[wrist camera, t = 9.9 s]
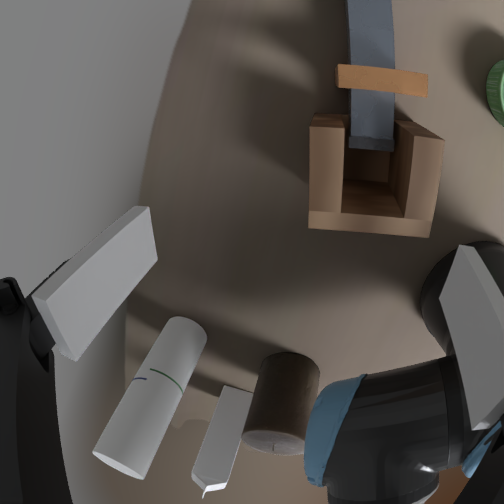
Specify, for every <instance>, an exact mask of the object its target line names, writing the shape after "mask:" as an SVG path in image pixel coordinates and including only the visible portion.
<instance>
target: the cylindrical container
mask: <svg viewBox="0 0 504 504" xmlns="http://www.w3.org/2000/svg"><path fill="white" fill-rule="evenodd" d="M206 342H207V335H206V332H205V331H204V329H203V328H202V327H201V326H200V325H199V324H197V323H196V322H194V321H193V320H191V319H188V318H185V317H179V316H177V317H172V318H170V319H169V320H168V322H167V323H166V325H165V327H164V328H163V330H162V332H161V333H160V335H159V336H158V338H157V340H156V341H155V343H154V345H153V346H152V348H151V350H150V351H149V353H148V355H147V357H146V358H145V360H144V362H143V363H142V365H141V367H140V368H139V370H138V372H137V374H136V375H135V377H134V379H133V380H132V382H131V384H130V386H129V387H128V389H127V391H126V392H125V394H124V396H123V398H122V400H121V401H120V403H119V405H118V406H117V408H116V410H115V412H114V413H113V415H112V417H111V419H110V421H109V422H108V424H107V426H106V428H105V430H104V431H103V433H102V435H101V437H100V439H99V441H98V442H97V444H96V446H95V448H94V450H93V454H94V455H95V456H97V457H98V458H99V459H100V460H102V461H103V462H105V463H106V464H108V465H110V466H111V467H113V468H115V469H117V470H119V471H121V472H123V473H125V474H127V475H130V476H132V477H135V478H138V479H144V478H145V476H146V473H147V471H148V469H149V467H150V464H151V462H152V460H153V458H154V456H155V454H156V451H157V449H158V447H159V445H160V442H161V440H162V438H163V436H164V434H165V432H166V430H167V427H168V425H169V423H170V421H171V419H172V416H173V414H174V412H175V410H176V408H177V405H178V403H179V401H180V399H181V397H182V395H183V392H184V390H185V388H186V386H187V384H188V381H189V379H190V377H191V375H192V373H193V370H194V368H195V366H196V364H197V362H198V359H199V357H200V355H201V353H202V351H203V348H204V346H205V344H206Z"/></svg>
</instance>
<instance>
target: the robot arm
mask: <svg viewBox="0 0 504 504" xmlns="http://www.w3.org/2000/svg"><path fill="white" fill-rule="evenodd" d="M157 260H158V258H157V253H156V247H155V241H154V235H153V229H152V223H151V216H150V210H149V207H145V206H134V207H133V208H131V209H130V210H129V211H128V212H126V213H125V214H124V215H122V216H121V217H120V218H119V219H117V220H116V221H115V222H114V223H112V224H111V225H110V226H109V227H107V228H106V229H105V230H104V231H103V232H101V233H100V234H99V235H98V236H96V237H95V238H94V239H93V240H92V241H91V242H89V243H88V244H87V245H86V246H85V247H84V248H82V249H81V250H80V251H79V252H78V253H77V254H75V255H74V257H72V258H70V259H69V260H67V261H65V262H63V263H62V264H61V265H60V266H59V267H58V268H57V269H56V270H55V272H54V271H53V272H52V273H51V274H50V275H49V277H48V278H46V279H45V280H44V281H43V282H42V283H41V284H40V285H39V286H37V287H36V288H35V289H34V290H33V291H32V292H31V293H30V294H29V295H28V296H27V297H26V298H24V296H23V294H22V292H21V290H20V288H19V285H18V283H17V281H16V280H15V278H12V277H7V278H3V279H0V504H73V503H72V499H71V495H70V490H69V486H68V481H67V476H66V471H65V466H64V460H63V455H62V448H61V441H60V434H59V425H58V416H57V405H56V391H55V368H54V354H53V351H52V350H51V349H52V347H53V346H54V345H55V344H56V345H57V347H58V349H59V351H60V352H61V354H62V355H63V356H66V357H68V358H70V359H72V360H74V361H77V360H78V359H79V358H80V356H81V355H82V353H83V352H84V351H85V349H86V348H87V347H88V345H89V344H90V343H91V342H92V340H93V339H94V338H95V336H96V335H97V334H98V333H99V331H100V330H101V329H102V327H103V326H104V325H105V324H106V322H107V321H108V320H109V319H110V317H111V316H112V315H113V313H114V312H115V311H116V309H117V308H118V307H119V306H120V305H121V303H122V302H123V301H124V300H125V299H126V297H127V296H128V295H129V294H130V292H131V291H132V290H133V289H134V288H135V286H136V285H137V284H138V283H139V282H140V280H141V279H142V278H143V277H144V276H145V274H146V273H147V272H148V271H149V270H150V268H151V267H152V266H153V265H154V264H155V263H156V261H157ZM420 307H421V311H422V315H423V319H424V323H425V325H426V327H427V329H428V331H429V332H430V333H431V334H432V335H433V337H435V339H436V340H437V342H438V343H439V345H440V346H441V347H442V349H443V350H444V352H445V353H446V357H443V358H439V359H434V360H430V361H427V362H423V363H419V364H415V365H411V366H406V367H402V368H397V369H393V370H388V371H383V372H379V373H373V374H362V375H360V376H359V377H355V378H351V379H346V380H341V381H336V382H333V383H331V384H329V385H328V386H326V387H325V388H324V389H323V390H322V391H321V393H320V394H319V396H318V397H317V399H316V401H315V403H314V406H313V409H312V411H311V414H310V418H309V422H308V426H307V431H306V437H305V445H304V468H305V473H306V475H307V476H308V481H309V482H310V483H311V484H312V485H317V486H318V487H323V486H327V492H328V504H424V502H425V501H426V500H427V499H428V498H429V497H430V496H431V495H432V494H433V493H434V492H435V491H436V490H437V488H438V486H439V471H441V470H445V469H448V468H452V467H455V466H459V465H462V471H463V472H464V473H465V475H466V476H467V477H469V478H470V480H469V481H468V483H467V484H466V486H465V487H464V489H463V491H462V492H461V493H460V495H459V496H458V498H457V499H456V501H455V502H454V504H504V247H503V246H502V245H500V244H497V243H494V242H488V241H481V242H474V243H470V244H467V245H459V247H458V249H456V250H454V251H453V252H451V253H450V254H448V255H447V256H446V257H445V258H443V259H442V260H441V261H440V262H439V263H438V264H437V265H436V266H435V268H434V269H433V270H432V271H431V273H430V274H429V276H428V278H427V279H426V281H425V283H424V286H423V289H422V292H421V298H420Z"/></svg>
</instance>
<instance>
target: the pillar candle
mask: <svg viewBox="0 0 504 504" xmlns="http://www.w3.org/2000/svg"><path fill="white" fill-rule="evenodd" d="M319 377H320V371H319V368H318V367H317V365H316V364H315V363H314V362H313V361H312V360H311V359H309V358H307V357H305V356H302V355H299V354H294V353H277V354H274V355H271V356H269V357H267V358H266V359H265V360H264V361H263V363H262V366H261V370H260V373H259V377H258V380H257V384H256V387H255V391H254V394H253V398H252V401H251V405H250V408H249V411H248V415H247V418H246V421H245V425H244V429H243V432H242V435H241V439H242V440H243V442H244V443H245V444H247V445H248V446H250V447H252V448H253V449H256V450H258V451H261V452H266V453H271V454H276V455H296V454H303V453H304V445H305V437H306V431H307V426H308V422H309V418H310V414H311V411H312V409H313V406H314V403H315V401H316V399H317V392H318V386H319Z"/></svg>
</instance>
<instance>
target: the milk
mask: <svg viewBox="0 0 504 504" xmlns="http://www.w3.org/2000/svg"><path fill="white" fill-rule="evenodd" d="M253 394H254V393H250V392H247V391H243V390H240V389H236V388H233V387H230V386H226V385H224V387H223V389H222V392H221V395H220V397H219V400H218V403H217V406H216V408H215V411H214V414H213V416H212V419H211V422H210V424H209V427H208V430H207V433H206V435H205V438H204V440H203V443H202V445H201V448H200V451H199V454H198V456H197V459H196V461H195V464H194V467H193V469H192V479H193V480H194V481H195V482H196V483H197V484H198V485H199V486H200V487H201V488H202V489H203V490H204V493H203V497H204V494H205V492H207V491H213V490H219V489H224V488H225V486H226V484H227V482H228V479H229V476H230V473H231V470H232V466H233V463H234V460H235V457H236V454H237V451H238V447H239V444H240V441H241V435H242V432H243V429H244V425H245V421H246V418H247V415H248V411H249V408H250V405H251V401H252V398H253ZM203 497H202V498H203Z"/></svg>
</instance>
